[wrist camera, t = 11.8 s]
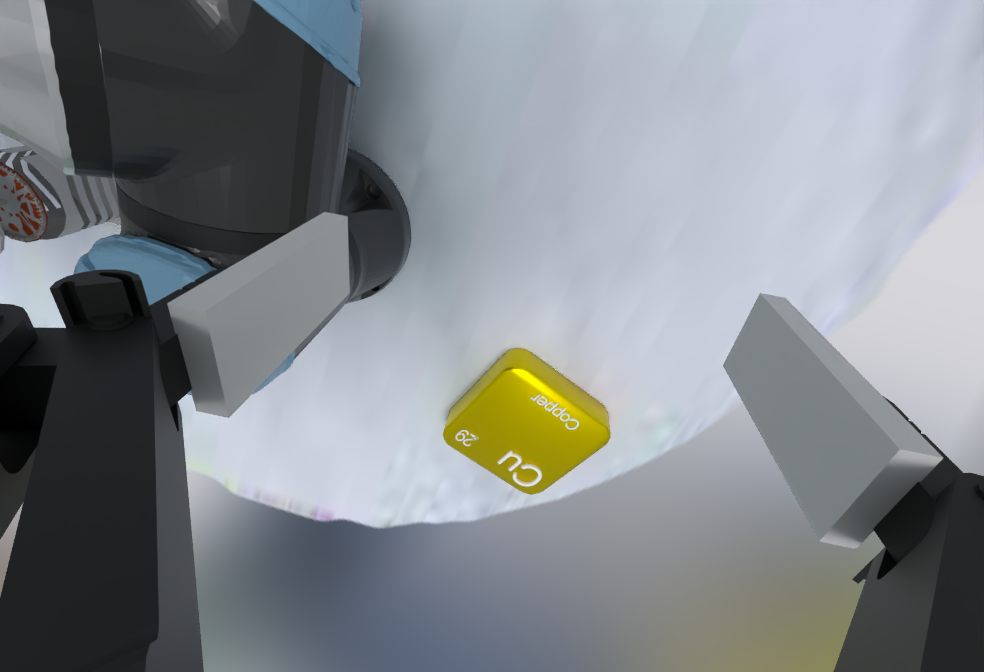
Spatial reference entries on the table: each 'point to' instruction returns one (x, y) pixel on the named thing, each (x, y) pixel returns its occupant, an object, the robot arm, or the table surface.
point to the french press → (19, 202)
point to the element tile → (527, 422)
